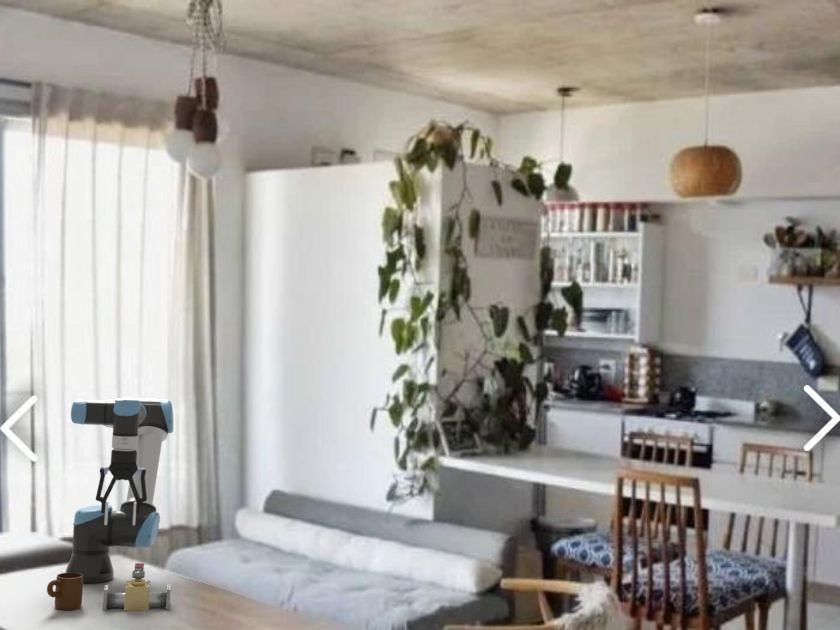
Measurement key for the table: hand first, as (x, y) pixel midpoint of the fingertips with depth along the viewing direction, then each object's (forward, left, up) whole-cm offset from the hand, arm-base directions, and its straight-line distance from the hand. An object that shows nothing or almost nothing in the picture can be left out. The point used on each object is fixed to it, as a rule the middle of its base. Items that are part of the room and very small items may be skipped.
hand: (119, 524), depth 317 cm
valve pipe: (+8, +6, -23) cm, 25 cm away
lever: (+3, +7, -14) cm, 16 cm away
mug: (+9, -15, -23) cm, 29 cm away
